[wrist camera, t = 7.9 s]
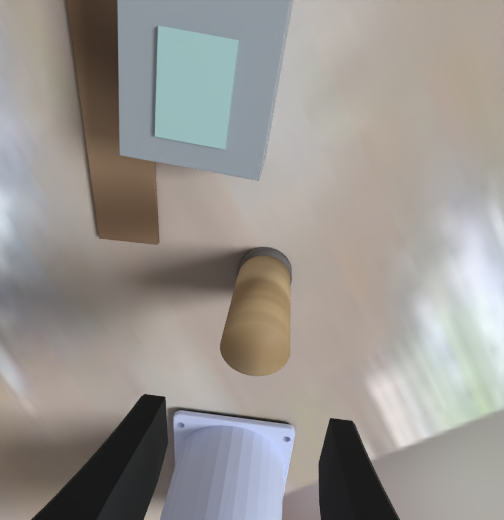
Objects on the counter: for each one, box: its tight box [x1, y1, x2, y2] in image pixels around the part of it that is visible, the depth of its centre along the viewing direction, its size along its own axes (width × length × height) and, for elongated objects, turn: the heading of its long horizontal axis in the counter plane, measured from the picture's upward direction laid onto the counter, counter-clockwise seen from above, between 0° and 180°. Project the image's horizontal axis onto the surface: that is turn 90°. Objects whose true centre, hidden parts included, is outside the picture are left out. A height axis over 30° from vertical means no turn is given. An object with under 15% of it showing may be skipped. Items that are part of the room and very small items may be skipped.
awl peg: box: [220, 247, 292, 376], centre depth 16 cm, size 3×3×6 cm
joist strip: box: [67, 0, 159, 245], centre depth 15 cm, size 16×3×1 cm, turn 176°
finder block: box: [118, 0, 293, 181], centre depth 13 cm, size 8×5×4 cm, turn 171°
